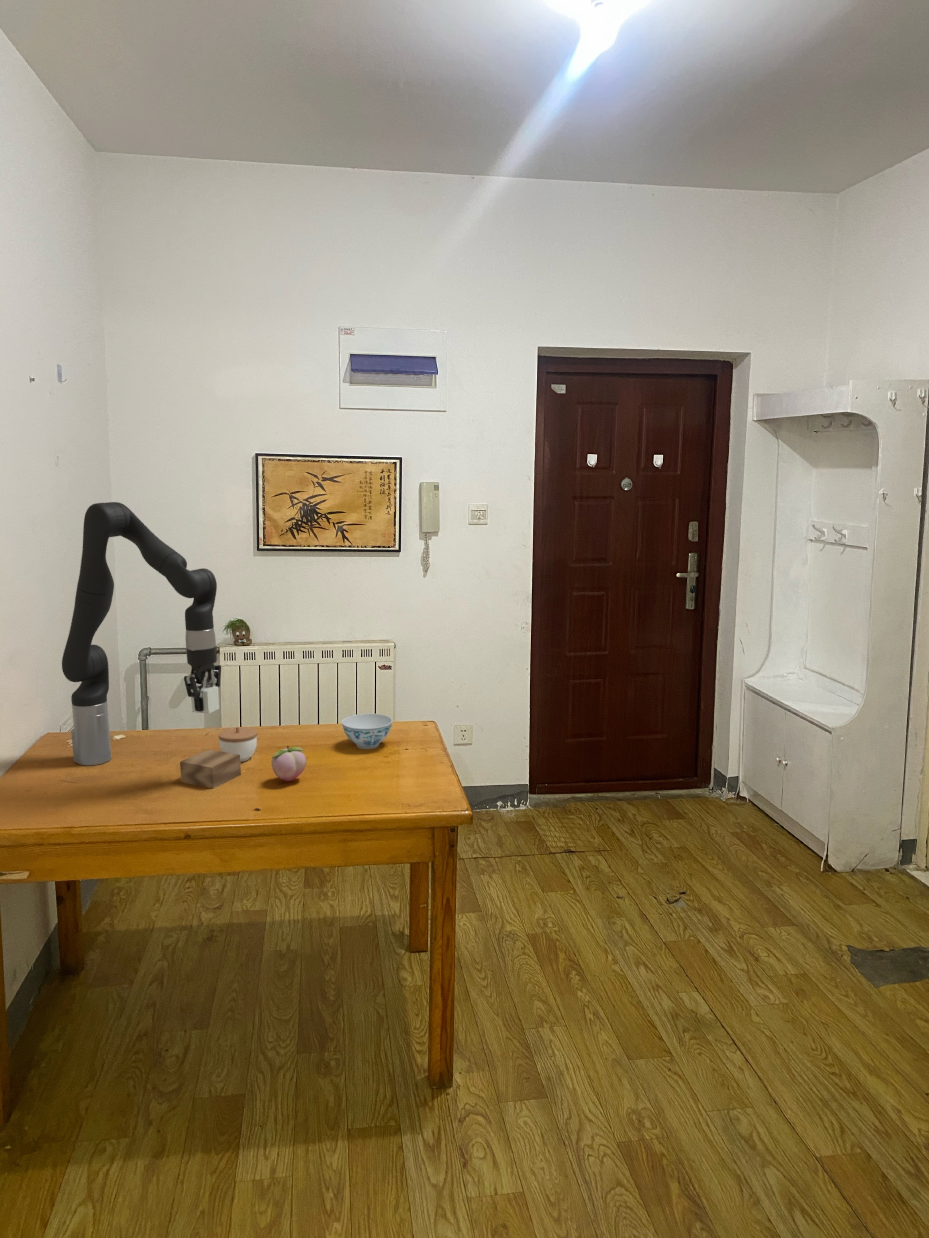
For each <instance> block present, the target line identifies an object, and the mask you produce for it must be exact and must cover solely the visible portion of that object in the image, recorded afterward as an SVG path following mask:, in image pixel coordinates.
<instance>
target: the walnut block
mask: <svg viewBox="0 0 929 1238" xmlns="http://www.w3.org/2000/svg"><path fill="white" fill-rule="evenodd" d="M179 765H180V767H179V768H180V781H181V783H184V784H188V785H189V784H190V785H194V786H199V787H203V788H207V789H208V788H209V789H215V788H218V787H220V786H221V785H224V784H225V783H226V784H227V782H230V781H232V780H234V779H235V778H237V777H240V776H241V775H242V770H241V769H242V767H241V762H240V755H238V754H232V753H227V752H222V751H221V750H215V749H210V748H207V749H205V750H203V751H201V752H198V753H197V754H194V755H192V756H190V757H188V758H185V759H182V760H180V761H179Z"/></svg>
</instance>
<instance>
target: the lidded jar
mask: <svg viewBox="0 0 929 1238" xmlns="http://www.w3.org/2000/svg"><path fill="white" fill-rule="evenodd" d="M218 741H219V748H220V751H221V752H227V753H232V754H238V755H240V763H242V762H246V761H249V760H250V759H251V757H252V756H253V755H254V753H255V751H256V750H257V744H258V731H257V729H255V728H253V727H247V726H245V727H244V726H243V727H242V726H236V727H232V728H231V727H230V728H227V729H224V730H221V731H220V732H219V733H218Z"/></svg>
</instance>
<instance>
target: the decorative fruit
mask: <svg viewBox="0 0 929 1238" xmlns="http://www.w3.org/2000/svg"><path fill="white" fill-rule="evenodd" d="M305 751H306V750H305V749H304V748H302V747H299V746H293V747H289V745H287V747H286V748H284V749H283V748H281V749H280V750H278V751H276V752H275V753H274V754H273V755H272V758H271V769H272V770H273V773H274V775H275V776H276V777H277V778H279V779H281V780H282V781H286V782H292V781H294V780H296V779H297V778H298V777H300V775H301V774H302V773H303V772H304V770H305V768H306V767H307V757H306V755H305V754H304V753H303V752H305Z"/></svg>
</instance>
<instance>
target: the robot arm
mask: <svg viewBox="0 0 929 1238" xmlns="http://www.w3.org/2000/svg"><path fill="white" fill-rule="evenodd" d="M85 511H86V512H85V514H84V517H83V518H84V519H83V529H82V531H83V532H82V553H81V559H80V566H79V567H80V569H79V575H78V581H77V585H76V591H75V597H74V607H73V611H72V617H71V623H70V628H69V632H68V636H67V640H66V643H65V647H64V650H63V653H62V654H63V655H62V657H61V670H62V673H63V675H64V677H65V679H66V680H68V681H69V682H71V683H80V684H79V686H78V687H77V688H76V689H75V691H74V692H72V694H71V709H72V720H73V728H72V729H71V730H70V734H71V743H72V755H73V756H72V757H73V762H74V763H77V764H78V765H81V766H96V765H102V764H105V763H107V762H109V761H111V760H112V758H113V757H112V744H111V732H110V721H109V720H110V719H109V709H108V707H109V706H108V693H109V689H110V677H109V676H110V674H109V672H110V670H109V660H108V656H107V654H106V651H105V650H104V649H103V648H102V647H101V646H100V645H98V644H92V642H93V638H94V637H95V635H96V633H97V631H98V630H99V627H101V625H102V623H103V622H104V620H105V619H106V617H107V615H108V613H109V611H110V609H111V607H112V606H111V605H112V601H113V596H114V591H115V590H114V589H115V581H114V577H113V575H112V572H111V570H110V568H109V565H108V563H107V561H108V560H107V550H108V549H107V548H108V542H109V539H110V538H115V537H116V538H117V537H122V538H124V539H126V540H127V541H130V542H132V543H133V544H134V545H135V546H136V547H137V548H138V550H139V552H140V555H141V556H142V558H143V559H144V561H145V562H146V564H148V565H149V566H150V567H151V568H152V569H154V570H155V571H156V572H157V573H159V574H160V575H162V576H163V577H165V578H166V580H167V582H168V583H169V584H170V585H171V586H172V588H173V589H174V591H175V592H176V593H177V594H178V595H180V596H181V597H184V598H186V599H193V601H192V603H191V605H189V606H188V607H186V609H185V612H184V624H185V625H184V626H185V647H186V648H185V649H186V650H185V651H186V662H187V665H189V666H190V667H191V669H190V674H189V675H184V677H183V680H184V685H185V688H186V689H185V690H186V693H187V697H188V698H191V697H193V698H194V705H195V710H196V711H200V712H201V711H203V710H204V706H203V697H202V696H203V690H204V689H205V687H206V686H212V687H213V686H216V687H218V688H221V687H220V686H221V678H222V665H220V664H219V665H218V664H216V663H217V661H218V657H217V656H218V655H217V654H218V653H217V643H216V640H217V638H216V633H215V627H214V626H215V625H214V615H213V613H214V612H213V611H214V607H215V602H216V598H217V597H216V596H217V590H218V589H217V588H218V586H217V585H218V584H217V578H216V577H215V574H214V573H213V571H212V570H211V569H208V568H204V567H203V568H198V569H196V568H195V569H192V570H190V569H187V568H188V563H187V559H186V558H185V557H184V556H183V555H181V553H179V552H178V551H176V550H175V549H174V548H172V547H171V546H170V545H168V544H167V543H165V542H164V541H163V540H161V539H160V538H159V537H158V536H157V535H155V533H154V532H152V531H151V529H149V528H148V526H147V525H145V524H144V522H143V521H142V520H141V519H140V518H139V517H138V516H137V515H136V514H135V513H134V512H133V511H132V510H131V509H130V508H129V507H128V506H126V505H125V504H123V503H122V502H119V501H118V502H117V501H110V502H96V503H93V504H91V505H90V506H89V507H87V510H85ZM197 689H199V693H198V690H197ZM191 690H193V691H192V692H191Z"/></svg>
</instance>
